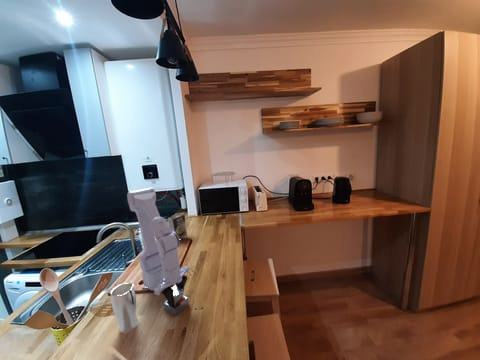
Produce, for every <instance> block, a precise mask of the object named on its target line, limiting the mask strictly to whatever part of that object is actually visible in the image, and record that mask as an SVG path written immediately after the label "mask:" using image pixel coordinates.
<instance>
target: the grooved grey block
mask: <svg viewBox="0 0 480 360" xmlns="http://www.w3.org/2000/svg"><path fill="white" fill-rule="evenodd" d="M171 288H172V289H174V292H173V300H174V303H173V305H172V306H174V307H176V306H178V305H179V301H181V300H182V299H183V298H184V296H185V295H184V292H183V289H182V288H180V287H177V286H176V285H174V286H173V287H171ZM183 295H184V296H183Z"/></svg>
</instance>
